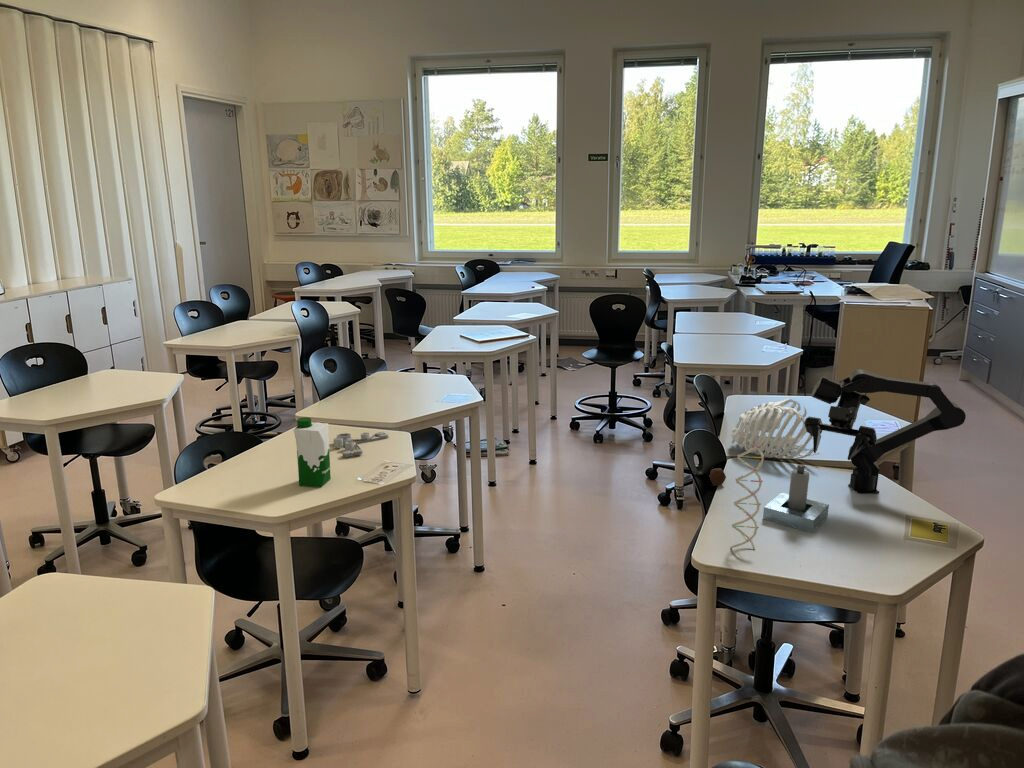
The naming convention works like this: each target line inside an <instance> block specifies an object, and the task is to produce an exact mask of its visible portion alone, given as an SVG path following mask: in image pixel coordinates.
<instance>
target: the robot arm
mask: <svg viewBox="0 0 1024 768" xmlns="http://www.w3.org/2000/svg"><path fill="white" fill-rule="evenodd" d="M882 392H884V393H885V392H886V393H891V394H892V393H894V394H902V395H906V396H907V395H908V396H914V397H915V396H916V397H923V398H929V399H930V401H932V403H933V404H934V405H935V406H936V407H934V408H933V409H932V410H931V411H930V412H929V413H928V414H927V415H926V416H924V417H922V418H921V419H918V420H915V421H914V422H912V423H910V424H907V425H905V426H903V427H901V428H898V429H897V430H894V431H893V432H889V433H887V434H886V435H884V436H882V437H879V438H877V437H878V436H877V432H876V429H875V428H874V427H869V426H865V425H860V426H859V428H858V429H854V428H853V427H854V424H855V423H856V421H857V417H858V413H859V409H860V406H861V405H863V406H866V405H867V404H868V403H869V402H870V401H871V399H870V398H869V396H868V395H867V394H874V393H876V394H877V393H882ZM810 397H812V398H814V399H817V400H818V401H820V402H823V403H826V404H829V405H830V407H829V410H828V411H829V412H828V416H827V418H828V421H829V423H830V424H828V423H823V422H822V418H819V417H815V416H808V417H807V416H806V417H805V418H804V420H805V422H804V424H805V428H806V431H807V433H808V434H809V435H811V436H812V437H813V438H812V440H813V441H812V443H813V447H814V451H813V454H816V453H817V451H818V450H819V445H820V442H821V439H822V432H823V431H824V432H830V433H835V434H841V435H844V436H845V435H846V436H852V437H854V441H853V443H852V445H850V447H849V450H848V456H847V460H848V461H851V464H852V465H853V466H854V467H855V468H852V473H851V474H850V481H849V483H848V484H847V487H849V488H850V489H851V490H853V491H854V492H856V493H857V494H858V495H861V494H862V495H864V494H865V495H867V494H880V490H878V489H877V488H878V481H879V474H880V468H879V465H878V463H877V462H878V461H879V459H880V458H881V457H882V456H884V455H885V454H886V453H889V452H891V451H893V450H895V449H898V448H900V447H901V446H904V445H907V444H909V443H911V442H913V441H915V440H917V439H919V438H922V437H924V436H926V435H928V434H930V433H933V432H936V431H937V432H938V431H947V430H950V429H953V428H957V427H960V426H962V425H963V424H964V423H965V421H966V418H967V417H966V416H967V415H966V412H965V411H964V410H963V409H962V407H961V406H959V404H957V403H956V402H954V401H951V400H950V399H949V398H948V397H947V396H946V395H945V393H944V391H943V390H942V389H941V387H940V386H939V385H938V383H936V382H933V381H930V382H927V381H926V382H925V381H920V380H911V379H903V378H895V377H888V376H883V375H881V374H877V373H875V372H871V371H868V370H866V369H861V368H860V369H855V370H854V371H853V372H851V373H850V375H849V376H848V377H845V378H844V379H841V380H840V381H838V382H837V381H834V380H832V379H829V378H828V377H826V376H825V375H824V376H821V377H820V379H819V380H818V381H817V383H815V385H814V388H813V390H812V392H811V396H810ZM837 401H838V403H837ZM834 403H835V404H836V403H837V405H836V406H833V405H832V404H834ZM813 447H812V448H813Z"/></svg>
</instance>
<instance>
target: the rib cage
mask: <svg viewBox="0 0 1024 768" xmlns="http://www.w3.org/2000/svg"><path fill="white" fill-rule="evenodd" d="M789 403H792V405H791V406H786V405H789ZM800 404H801V403H799V402H798V401H796V400H794V399H792V398H784V399H782V400H781V401H775V402H773V401H769V402H768V403H766V402H763V403H760V404H759V405H755V406H753V407H752V408H751V409H747V410H746V411H744V413H741V414H739V417H738V421H736V422H737V423H736V424H735V426H734V427H733V429H732V430H731V435H730V436H731V437H732V439H731V444H734V443H737V446H738V447H740V448H744V449H745V451H748V450H750V449H753V448H754V446H753V445H752V444H751V443H749V442H748V441H746V440H745V439H744V438H742V437H741V436H740V432H741V433H742V435H743V436H744V437H746V438H748V439H749V440H750V441H751V442H752V443H754V444H755V445H758V444H760V443H761V442H762V441H763V437H764V434H766V433H768V434H767V436H766V438H765V442H764V443H763V444H762V445H761V446H760V447H759V449H760V450H761V451H762V453H763V456H764V458H765V457H767V458H769V459H771V458H775V459H783V460H788V459H791V460H799V459H804V458H807V457H811V456H812V457H813V456H815V455H816V456H817V455H820V452H816V453H814V447H812V448H811V449H810V451H808V452H807V453H804V452H803V453H802V451H803V450H805V448H806V447H807V445H808V444H809V443H810V441H811V440H813V436H811V435H810V434H809V435H808V437H807V439H806V440H805V441H803V443H800V444H799V442H800V441H802V439H803V438H804V436H805V435H806V434H807V433H808V432H807V431H806V428H805V424H804V422H805V419H806V418H807V414H808V412H807V409H806V407H805V406H804V405H802V406H803V409H804V412H803V414H801V412H800V411H801V410H802V409H801V405H800ZM796 406H797V407H796ZM785 416H786V417H785ZM794 416H796V418H795V421H794V423H793V425H792V426H791V427H790V428H789V431H788V432H787V433H786V434H785V436H782V435H783V432H784V430H785V429H786V427H787V426H788V425H789V423H790V422H791V420H792V419H793V417H794ZM784 417H785V419H784V421H783V418H784ZM782 421H783V423H782ZM781 423H782V425H781ZM801 423H802V427H801V429H800V430H799V432H798V433H797V435H794V433H795V432H796V430H797V428H798V427H799V425H800V424H801ZM776 429H777V430H778V429H779V430H778V432H777V433H776V435H775V436H773V435H774V432H775V431H776ZM797 444H798V445H797ZM792 452H793V453H792ZM791 453H792V454H791ZM750 454H755V455H757V456H758V455H760V453H759V451H758V450H757V449H755V450H754V451H752V452H750ZM760 456H761V455H760ZM797 456H798V457H797Z"/></svg>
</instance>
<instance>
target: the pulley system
mask: <svg viewBox="0 0 1024 768" xmlns="http://www.w3.org/2000/svg"><path fill="white" fill-rule="evenodd" d="M387 439H389V434H388V433H386V432H384V431H378V432H376V433H374V434H373V435H372V436H371V435H370V432H362V433H360V438H359V439H357V438H355V439H354V438H352V434H351V433H346V432H345V433H339V434H337V435H336V437H334V438H333V447H334V448H342V447H343V448H344V451H342V453H341V454H342V457H345V458H350V457H352V456H359V455H363V449H362V448H361V447H360V446H359V445H360V444H366V443H371V442H372V443H373V442H375V441H381V440H387ZM355 447H356V448H357V449H355Z"/></svg>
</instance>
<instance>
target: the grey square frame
mask: <svg viewBox="0 0 1024 768" xmlns="http://www.w3.org/2000/svg"><path fill="white" fill-rule="evenodd" d="M788 499H789V493H784V492H780V493H779V494H778V495H777V496H775V497H774V498H773V499H772V500H771V501H770V502H768V503H767V504H766V505H765V506H764V507H763V513H762V520H764V521H768V522H772V523H775V524H780V525H783V526H787V527H790V528H794V529H798V530H800V531H801V530H802V531H804V532H809V533H811V534H812V533H813V532H814V531H815V530H816V529H817V528H818V527H820V525H821V524H822V523H823V522H824V521H825V520H826V519H827V517H828V514H829V509H830V507H829V506H830V504H828V503H825V502H820V501H816V500H812V499H808V498H807V500H806V509H805V513H804V512H800V511H796V510H792V509H788Z"/></svg>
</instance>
